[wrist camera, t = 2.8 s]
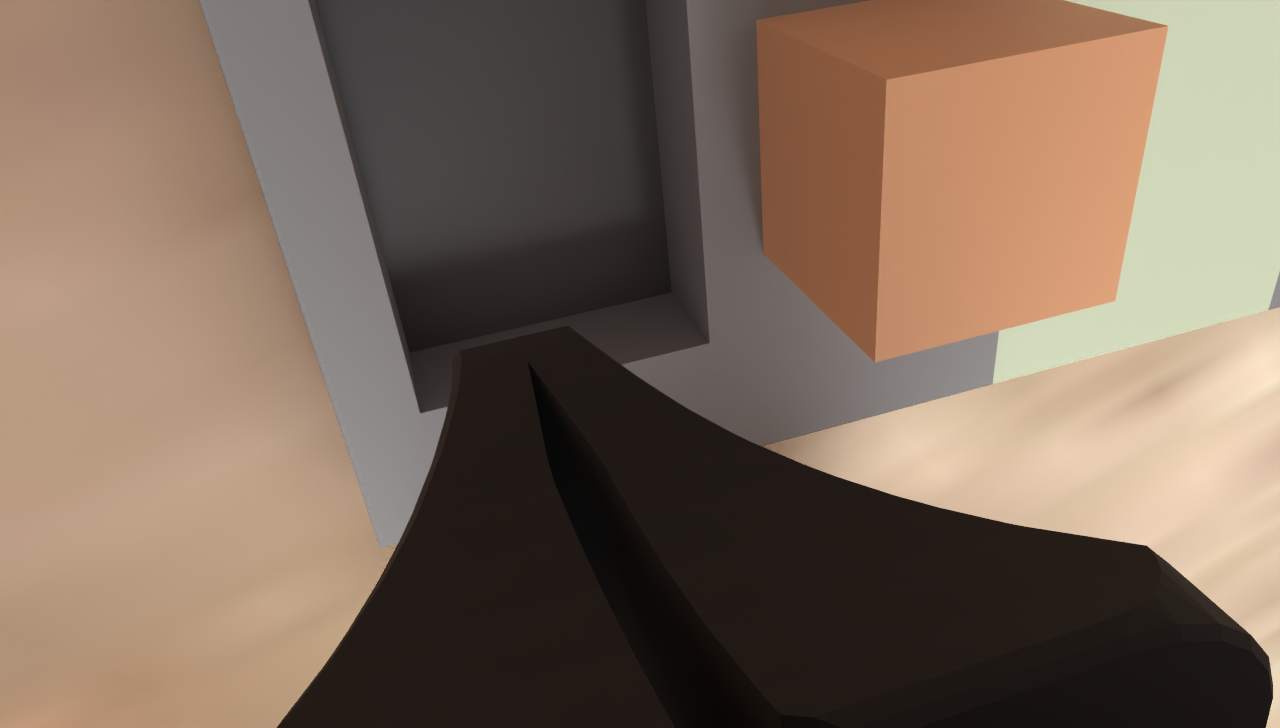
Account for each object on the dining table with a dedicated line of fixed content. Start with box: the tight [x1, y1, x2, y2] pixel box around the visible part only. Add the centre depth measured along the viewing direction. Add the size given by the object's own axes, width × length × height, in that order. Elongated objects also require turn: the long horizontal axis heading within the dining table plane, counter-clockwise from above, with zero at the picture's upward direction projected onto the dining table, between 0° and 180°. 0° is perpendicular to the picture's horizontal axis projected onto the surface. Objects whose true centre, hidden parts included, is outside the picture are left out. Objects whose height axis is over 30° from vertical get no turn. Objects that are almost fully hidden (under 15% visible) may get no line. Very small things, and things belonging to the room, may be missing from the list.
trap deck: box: [199, 0, 1280, 548], centre depth 20 cm, size 14×32×3 cm, turn 95°
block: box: [756, 0, 1168, 362], centre depth 16 cm, size 4×4×4 cm
